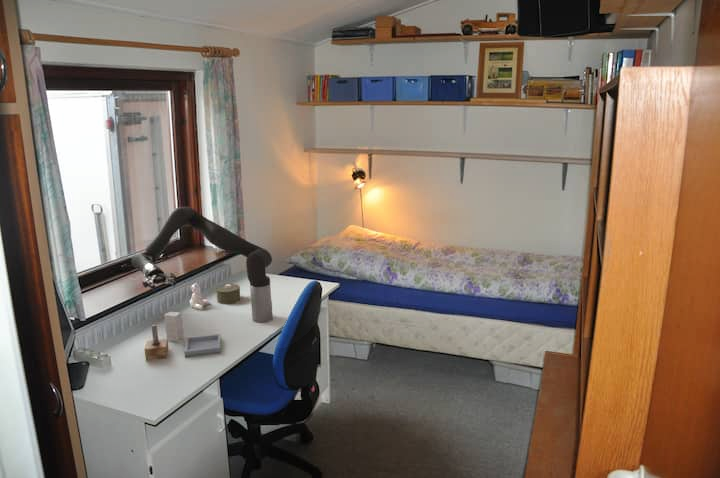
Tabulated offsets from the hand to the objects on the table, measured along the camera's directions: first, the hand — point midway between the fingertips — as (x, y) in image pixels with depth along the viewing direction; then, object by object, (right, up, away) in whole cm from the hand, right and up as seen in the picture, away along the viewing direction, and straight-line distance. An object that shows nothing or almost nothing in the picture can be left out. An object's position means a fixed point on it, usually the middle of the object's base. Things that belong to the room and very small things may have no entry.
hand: (164, 285), depth 246 cm
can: (+18, -11, +44) cm, 48 cm away
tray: (+20, -25, -11) cm, 34 cm away
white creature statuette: (+5, -14, +35) cm, 38 cm away
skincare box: (+6, -23, -2) cm, 24 cm away
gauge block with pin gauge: (+3, -27, -17) cm, 32 cm away
